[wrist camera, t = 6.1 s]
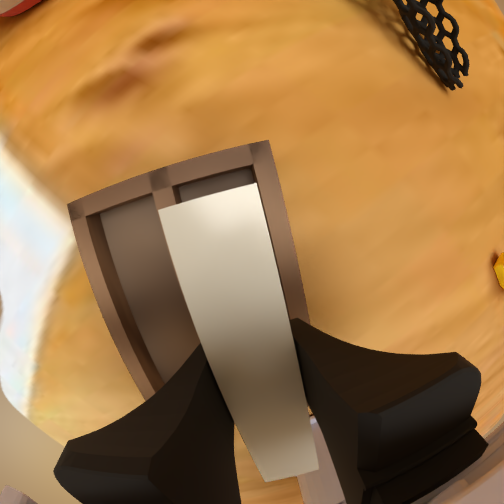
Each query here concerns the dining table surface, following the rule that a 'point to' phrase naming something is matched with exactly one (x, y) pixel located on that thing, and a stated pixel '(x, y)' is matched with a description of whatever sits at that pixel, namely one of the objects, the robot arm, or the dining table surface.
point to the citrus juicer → (15, 6)
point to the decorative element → (435, 39)
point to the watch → (500, 269)
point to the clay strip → (243, 324)
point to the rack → (169, 255)
